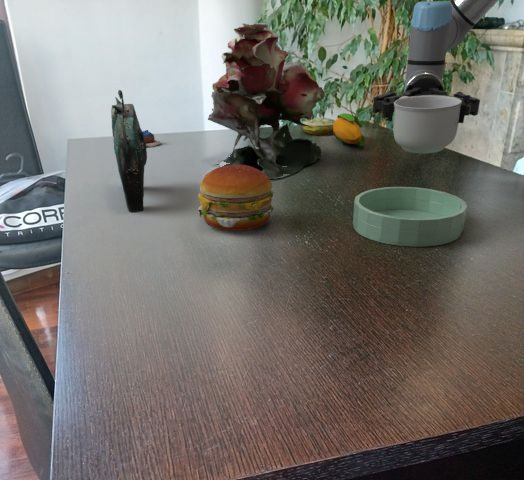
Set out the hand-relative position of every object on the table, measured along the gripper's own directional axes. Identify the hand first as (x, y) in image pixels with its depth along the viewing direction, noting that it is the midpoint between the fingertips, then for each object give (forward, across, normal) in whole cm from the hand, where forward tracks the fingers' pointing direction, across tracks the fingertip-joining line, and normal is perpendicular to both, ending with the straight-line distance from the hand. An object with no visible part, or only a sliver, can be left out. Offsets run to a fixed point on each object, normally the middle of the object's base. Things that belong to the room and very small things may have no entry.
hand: (426, 113), depth 94 cm
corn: (-61, +17, -18) cm, 66 cm away
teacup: (-2, 0, -6) cm, 7 cm away
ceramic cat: (-3, +55, -18) cm, 58 cm away
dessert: (-52, +73, -18) cm, 91 cm away
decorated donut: (-76, +27, -18) cm, 83 cm away
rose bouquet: (-37, +36, -18) cm, 55 cm away
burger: (+8, +31, -18) cm, 37 cm away
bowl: (+4, +1, -18) cm, 19 cm away
